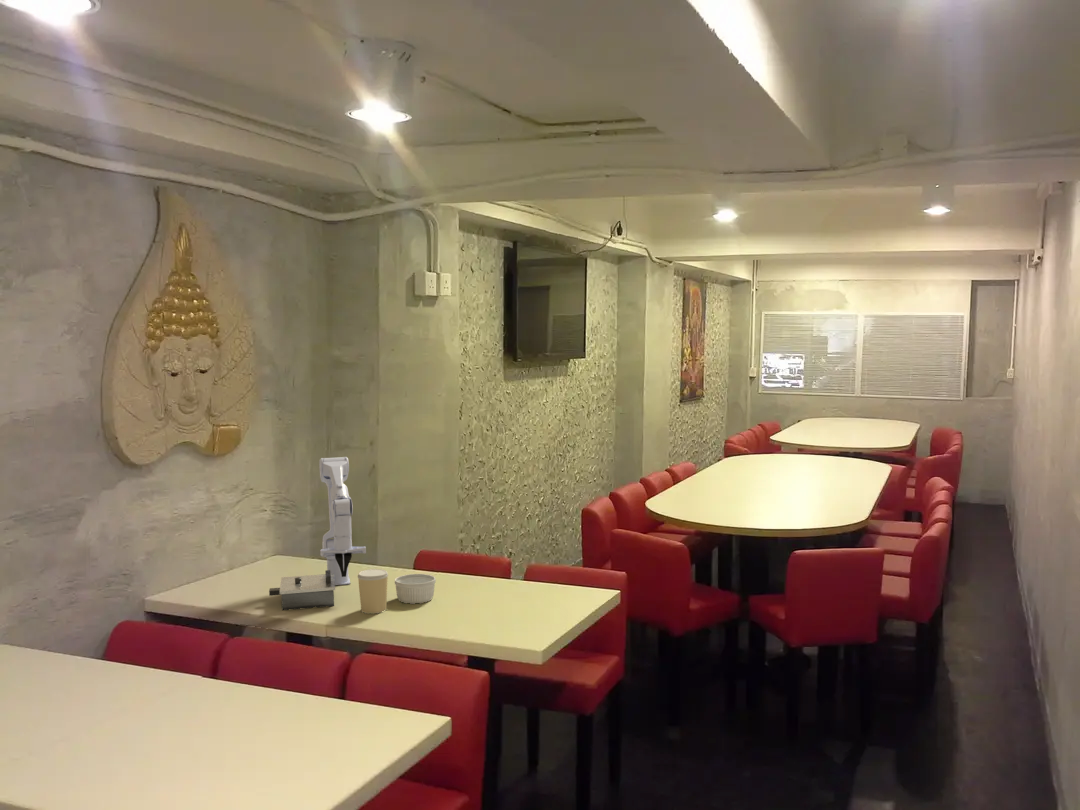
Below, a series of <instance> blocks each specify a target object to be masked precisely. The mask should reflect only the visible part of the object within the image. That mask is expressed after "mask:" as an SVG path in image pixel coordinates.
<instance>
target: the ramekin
mask: <svg viewBox="0 0 1080 810" xmlns="http://www.w3.org/2000/svg"><path fill="white" fill-rule="evenodd" d="M436 581H437V579H436V577H435V576H433V575H431V574H426V573H408V574H404V575H400V576H397V577H396V578H394V585H395V591H396V598H397V599H398V601H399V602H400V601H401V602H400V603H402V602H404V603H403V604H407V603H410V604H409V605H416V604H415V603H420V604H424V603H423V602H425V603H428V602H430V601H431V600H432V599H433V597H434V592H435V584H436ZM427 601H428V602H427Z"/></svg>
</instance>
